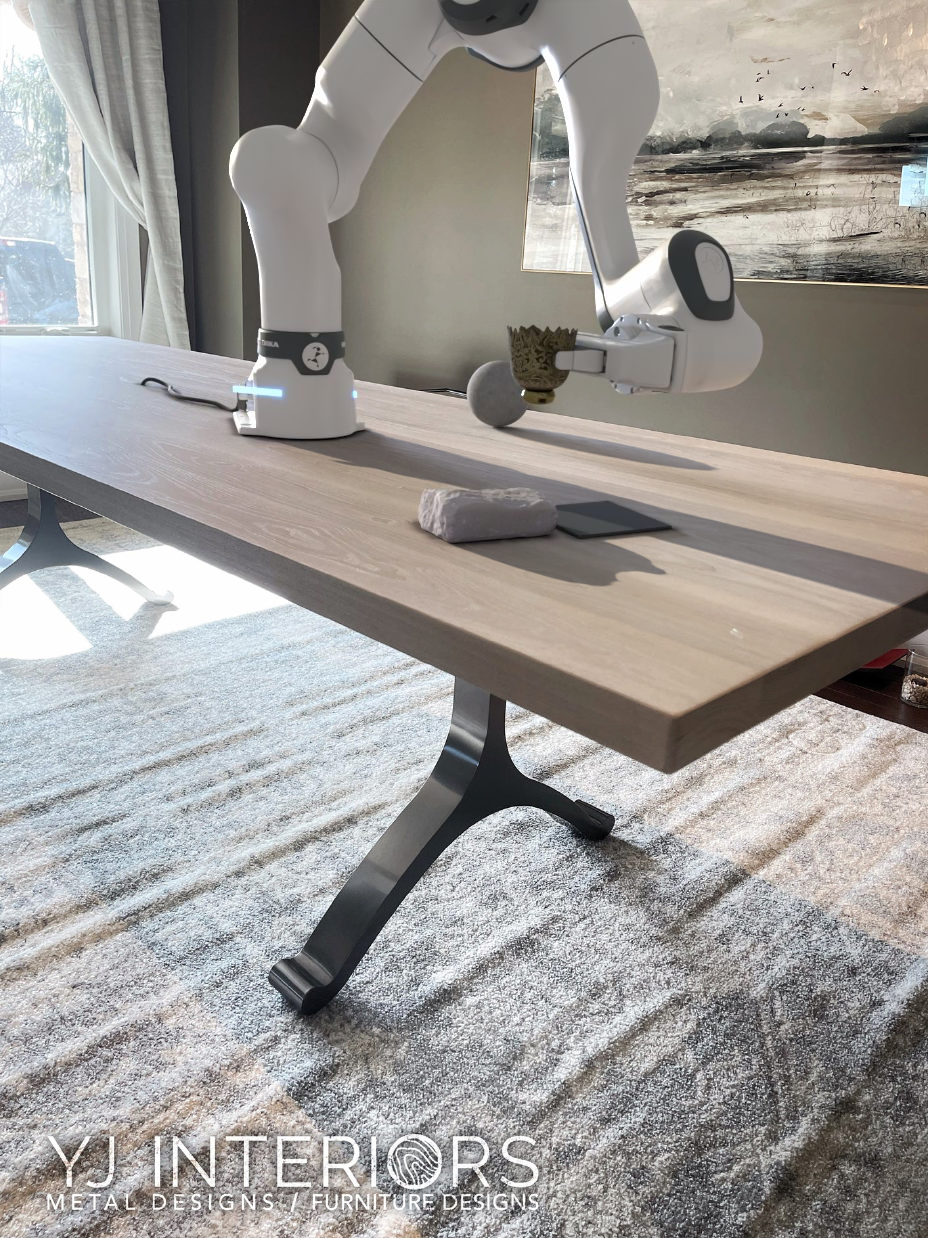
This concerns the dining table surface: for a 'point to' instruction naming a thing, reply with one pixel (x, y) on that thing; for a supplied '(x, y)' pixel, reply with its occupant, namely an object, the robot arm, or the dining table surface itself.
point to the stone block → (486, 514)
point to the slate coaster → (603, 520)
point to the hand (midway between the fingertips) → (534, 355)
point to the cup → (538, 361)
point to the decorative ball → (495, 395)
